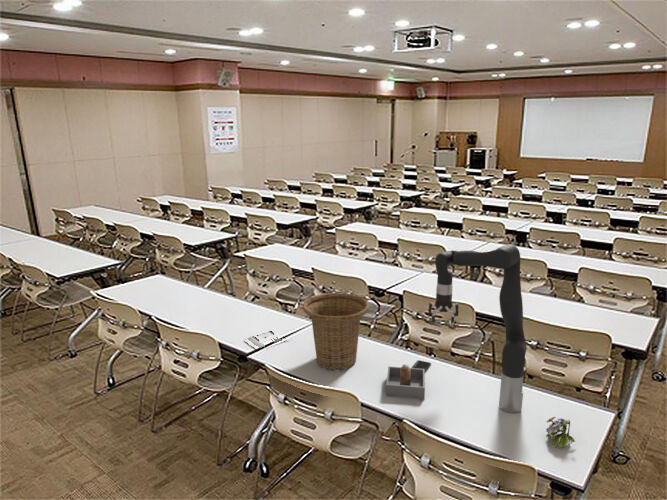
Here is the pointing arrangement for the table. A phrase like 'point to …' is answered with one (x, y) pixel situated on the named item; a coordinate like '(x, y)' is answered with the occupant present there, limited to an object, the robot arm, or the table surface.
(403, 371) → the pepper mill
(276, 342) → the office telephone
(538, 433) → the table surface
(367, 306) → the wicker basket
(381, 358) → the table surface
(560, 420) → the passion flower
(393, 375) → the bin
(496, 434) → the table surface
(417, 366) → the phone
